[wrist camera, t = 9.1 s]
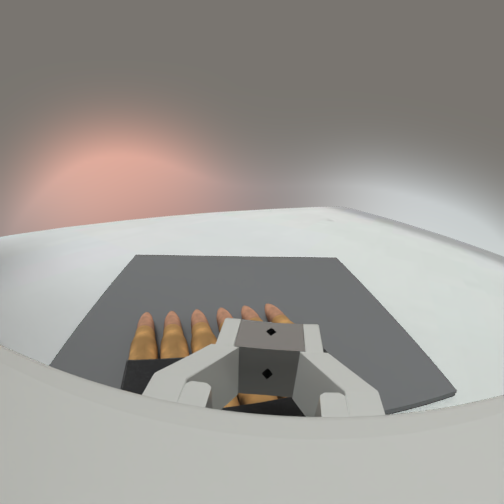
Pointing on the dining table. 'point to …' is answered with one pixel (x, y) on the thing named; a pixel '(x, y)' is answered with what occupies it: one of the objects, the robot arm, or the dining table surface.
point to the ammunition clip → (176, 348)
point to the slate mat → (256, 296)
